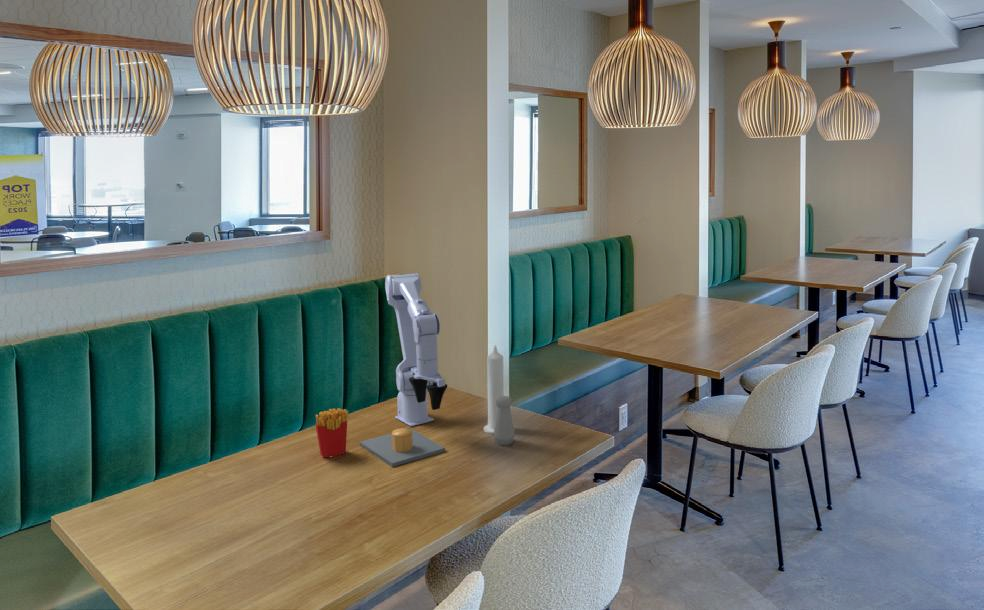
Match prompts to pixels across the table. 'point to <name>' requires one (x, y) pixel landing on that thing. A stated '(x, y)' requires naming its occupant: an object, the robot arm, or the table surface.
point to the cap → (402, 440)
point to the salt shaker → (504, 422)
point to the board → (387, 454)
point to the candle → (494, 387)
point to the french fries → (332, 432)
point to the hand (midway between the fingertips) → (428, 405)
